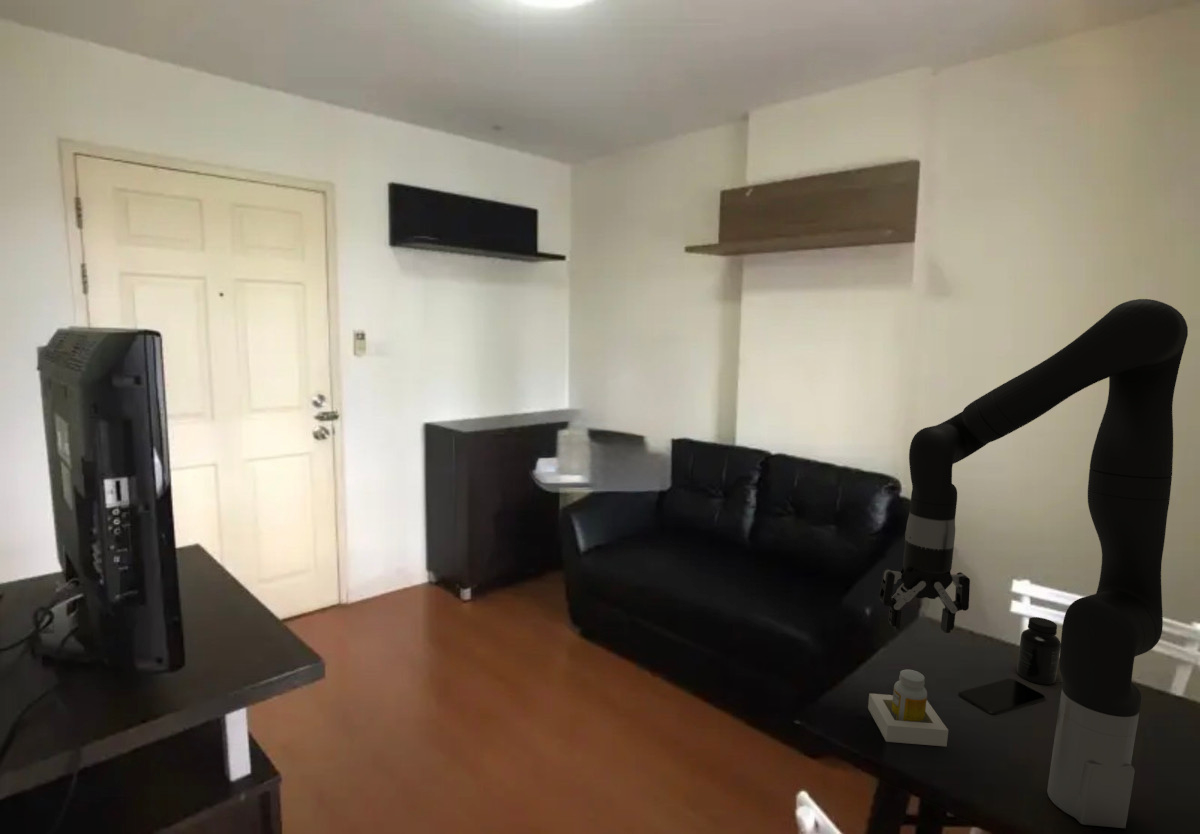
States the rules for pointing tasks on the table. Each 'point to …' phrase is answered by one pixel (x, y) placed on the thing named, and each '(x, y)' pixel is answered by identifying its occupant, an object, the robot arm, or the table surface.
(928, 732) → the socket plate
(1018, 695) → the smartphone
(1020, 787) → the table surface
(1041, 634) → the supplement bottle
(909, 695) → the supplement bottle
